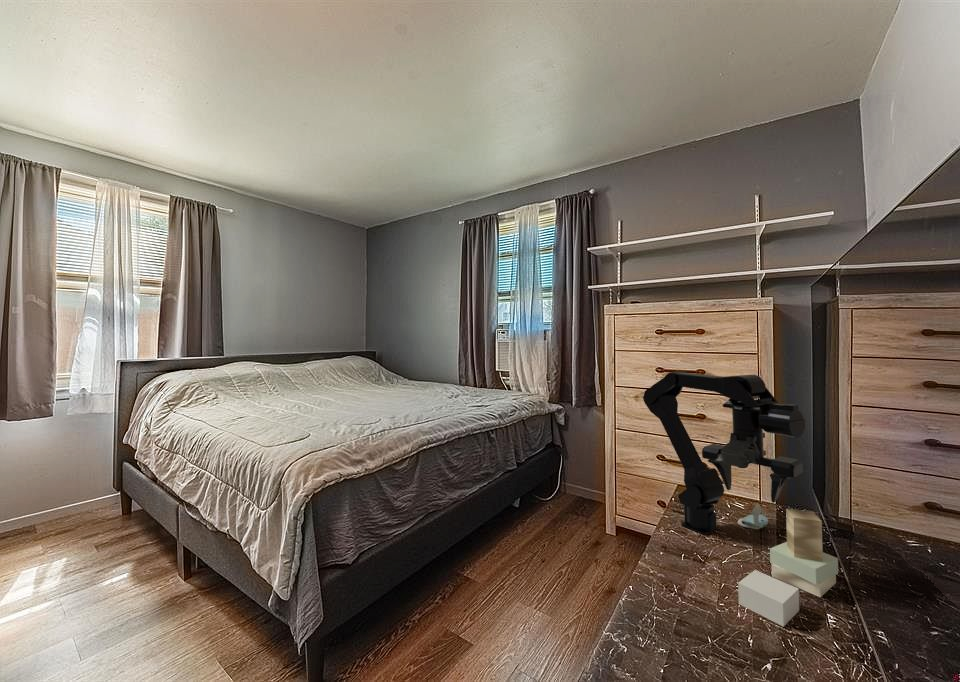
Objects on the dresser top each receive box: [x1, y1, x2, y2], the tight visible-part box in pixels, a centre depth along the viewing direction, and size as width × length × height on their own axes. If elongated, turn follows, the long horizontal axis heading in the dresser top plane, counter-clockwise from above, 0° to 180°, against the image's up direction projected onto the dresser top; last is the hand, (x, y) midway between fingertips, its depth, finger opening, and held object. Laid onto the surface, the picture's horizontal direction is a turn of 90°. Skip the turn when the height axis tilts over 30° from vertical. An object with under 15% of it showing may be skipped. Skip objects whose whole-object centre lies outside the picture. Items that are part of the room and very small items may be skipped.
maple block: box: [785, 508, 823, 562], centre depth 79 cm, size 4×4×8 cm
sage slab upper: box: [769, 541, 839, 584], centre depth 79 cm, size 8×8×3 cm
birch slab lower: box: [770, 563, 837, 598], centre depth 79 cm, size 8×8×3 cm
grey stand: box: [737, 569, 800, 628], centre depth 71 cm, size 7×7×4 cm
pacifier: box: [737, 503, 769, 530], centre depth 102 cm, size 7×6×6 cm
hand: (750, 495), depth 89 cm, fingers open, 9 cm apart
